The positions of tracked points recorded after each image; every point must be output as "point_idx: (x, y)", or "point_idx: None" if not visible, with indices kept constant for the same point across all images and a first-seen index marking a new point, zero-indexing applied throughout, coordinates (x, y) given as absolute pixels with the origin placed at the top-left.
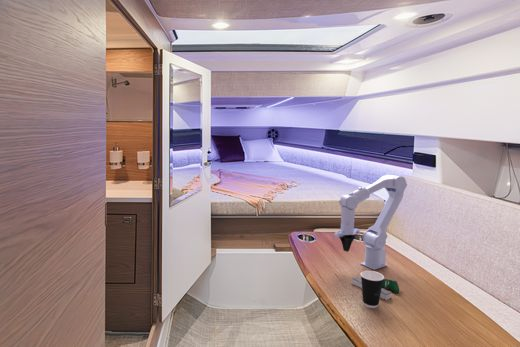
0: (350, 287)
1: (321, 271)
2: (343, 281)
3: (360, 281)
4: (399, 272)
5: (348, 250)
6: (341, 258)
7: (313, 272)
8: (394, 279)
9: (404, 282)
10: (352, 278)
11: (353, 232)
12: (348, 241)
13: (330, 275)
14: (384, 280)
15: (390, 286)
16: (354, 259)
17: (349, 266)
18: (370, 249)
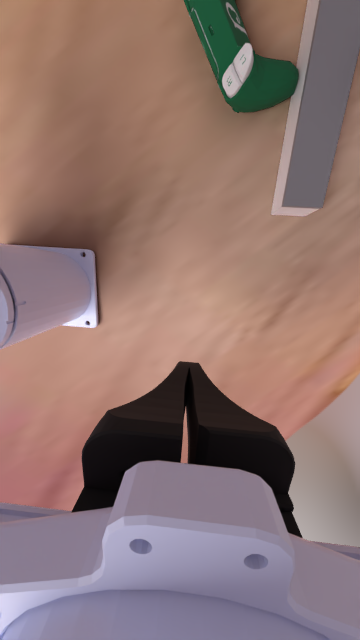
0: (347, 192)
1: (291, 370)
2: (311, 254)
3: (329, 148)
4: (8, 159)
5: (185, 363)
6: (118, 403)
7: (324, 382)
8: None
9: (82, 56)
10: (322, 205)
11: (122, 581)
12: (226, 407)
13: (298, 326)
14: (236, 30)
15: (234, 3)
16: (79, 369)
17: (155, 338)
18: (13, 286)
